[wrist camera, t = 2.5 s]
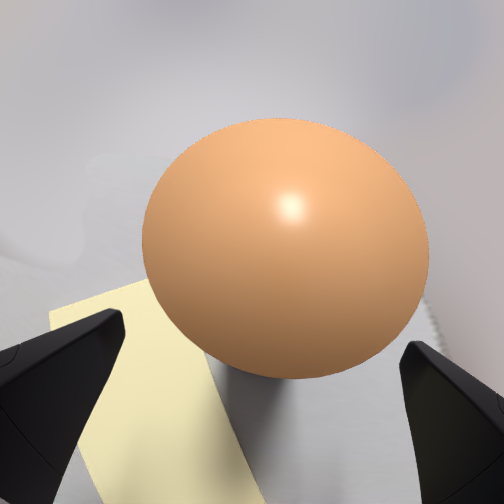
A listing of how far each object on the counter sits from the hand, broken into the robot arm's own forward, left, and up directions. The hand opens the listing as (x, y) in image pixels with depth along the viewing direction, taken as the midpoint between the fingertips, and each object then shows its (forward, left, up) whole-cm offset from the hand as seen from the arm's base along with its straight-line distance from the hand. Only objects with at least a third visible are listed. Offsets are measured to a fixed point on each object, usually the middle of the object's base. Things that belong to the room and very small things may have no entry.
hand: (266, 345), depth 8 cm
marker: (+1, -1, -9) cm, 9 cm away
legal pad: (-2, +8, -9) cm, 13 cm away
